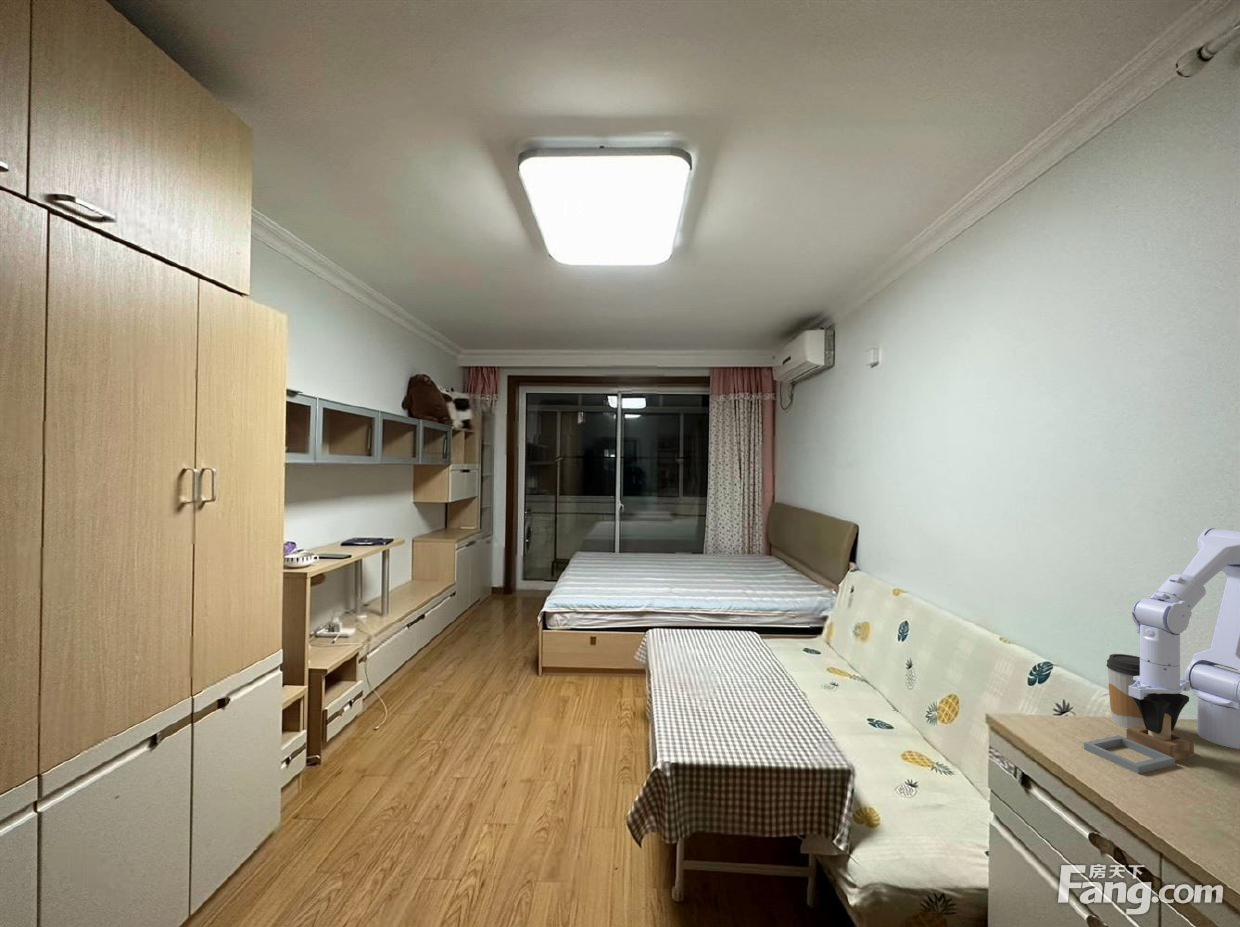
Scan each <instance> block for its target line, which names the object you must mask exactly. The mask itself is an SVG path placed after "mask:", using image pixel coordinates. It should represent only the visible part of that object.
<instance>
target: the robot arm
mask: <svg viewBox="0 0 1240 927" xmlns="http://www.w3.org/2000/svg"><path fill="white" fill-rule="evenodd" d="M1221 571H1222V572H1224V574H1225V575H1226V578H1227V579H1226V582H1225V586H1224V590H1223V595H1222V599H1221V604H1220V607H1219V611H1218V615H1217V620H1216V623H1215V628H1214V632H1213V637H1212V639H1211V640H1212V641H1211V645H1210V648H1207V649H1205V650H1202V651H1199V652H1196V653H1193V656H1192V659H1191V661H1190V663H1189V664H1188V665H1187V667H1186V669H1185V671H1184V678H1181V633H1184V631H1186V630H1187V628H1188V627H1189V624H1190V618H1191V617H1192V614H1193V613H1192V610H1193V609H1194V608H1195V607H1196V606H1197V605H1198V603H1199V602H1200V601H1201V600H1202V599H1203V598H1204V597H1205V596H1206V595H1207V590H1206V587H1205V585H1206V584H1207V583H1209V581H1211V579H1212V578H1214V577H1215V576H1216V575H1218V573H1220V572H1221ZM1130 613H1131V619H1132V621H1133V622H1134V623H1135V632H1136V633H1137V634H1138V635H1139V657H1140V676H1134V677H1133V680H1135V681H1136V682H1135V683H1134V684H1133V685H1130V686H1129V696H1132V698H1133V699H1134V701H1135V702H1136V704H1137V706H1138V708H1139V710H1140V712H1141V715H1142V718H1143V721H1144V724H1145V727H1146V729H1147V730H1149V731H1152V732H1155V733H1157V734H1159V733H1161V731H1162V727H1163V719H1164V715H1165V713H1166V714H1168V715H1170V716H1171V732H1173V731H1175V727H1176V725H1177V722H1178V718H1179V716H1180V714H1181V712H1182V710H1183V709H1184V708H1185V706H1186V705H1187V704H1188V703H1189V702H1190V697H1189V696H1188V695H1186V694H1184V693H1183V694H1182V692H1183V691H1185V692H1188V691H1189V692H1190V691H1191V690H1192V694H1193V695H1195V696H1196V697H1197V735H1198V736H1199V737H1200V738H1201V739H1203V740H1205V741H1207V742H1209V743H1212V744H1215V745H1219V746H1223V747H1226V748H1227V747H1228V748H1232V749H1236V750H1237V749H1238V750H1239V749H1240V531H1239V530H1233V529H1232V530H1231V529H1221V528H1215V527H1207V528H1206V529H1204V530H1203V531H1202V532H1201V533H1200V535H1199V537H1197V553H1196V554H1195V556H1194V557H1193V558H1192V559H1191V561H1190V562H1189V563H1188V564H1187V566H1186V568H1185V569H1184V570H1183V572H1182V573H1181V574H1180V573H1176V574H1171V575H1170V576H1169V577H1168V578H1167V579H1166V580H1165V581H1164V582H1163V583H1162V584H1161V585H1160V586H1159V588H1157V590H1155V592H1154V593H1153V594H1151V596H1150V597H1145V598H1142V599H1139V600H1137V601H1136V602H1135V603H1134V604H1133V608H1132V611H1131V612H1130ZM1219 666H1221V667H1219ZM1222 667H1223V668H1222ZM1224 667H1225V668H1224ZM1227 668H1228V669H1227ZM1230 669H1232V670H1230ZM1234 670H1235V671H1234ZM1237 671H1238V672H1237Z"/></svg>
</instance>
